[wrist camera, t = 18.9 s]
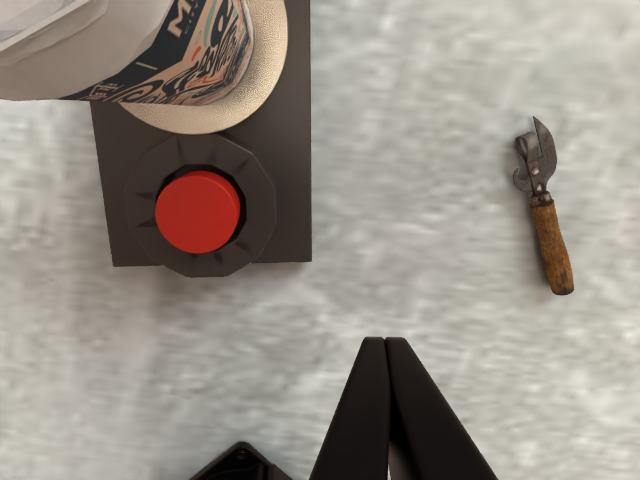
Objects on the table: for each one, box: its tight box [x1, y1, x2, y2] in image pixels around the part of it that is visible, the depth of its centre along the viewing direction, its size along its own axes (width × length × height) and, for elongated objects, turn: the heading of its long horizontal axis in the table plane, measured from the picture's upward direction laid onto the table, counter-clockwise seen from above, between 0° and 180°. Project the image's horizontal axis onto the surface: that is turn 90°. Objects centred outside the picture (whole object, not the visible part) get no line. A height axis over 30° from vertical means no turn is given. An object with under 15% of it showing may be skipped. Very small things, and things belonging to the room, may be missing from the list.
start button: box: [155, 170, 240, 253], centre depth 17 cm, size 3×3×2 cm
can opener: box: [513, 116, 574, 295], centre depth 21 cm, size 9×2×1 cm, turn 15°
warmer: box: [90, 0, 312, 278], centre depth 18 cm, size 13×9×3 cm
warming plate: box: [118, 0, 288, 135], centre depth 16 cm, size 7×7×1 cm
